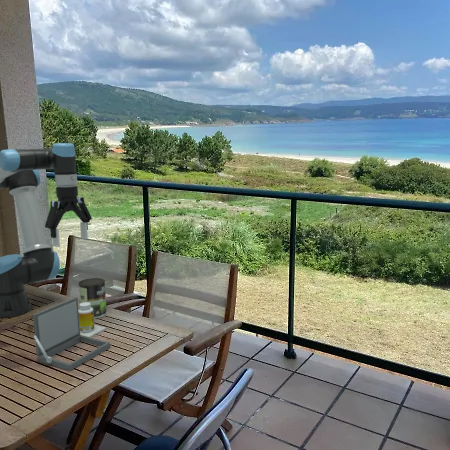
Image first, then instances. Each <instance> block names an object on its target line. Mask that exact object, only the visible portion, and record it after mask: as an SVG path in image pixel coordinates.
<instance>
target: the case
mask: <svg viewBox="0 0 450 450" xmlns="http://www.w3.org/2000/svg"><path fill="white" fill-rule="evenodd" d="M78 309H79V300H78V297H77V296H76V297H73V298H70V299H67V300H65V301H63V302H61V303H58V304H55V305H53V306H50V307H48V308H45V309H44V310H41V311H39V312H37V313H36V312H35V313H33V314H32V318H33V319H32V320H33V331H34V335H33V339H34V341H35V343H34V344H35V351H36V353H35V354H36V356H37V357H38V362H40V363H42V364H43V363H44V364H47V365H49V366H53V367H55V366H56V368H59V369H62V370H66V371H69V372H71V371H72V369H73V370H75V369H77V368H78V367H79V365H80V366H81V365H83V364H84V362H85V363H86V362H88V361H91V358H92V359H93V358H95V357H97V356H98V355H101V354H102V353H103V352H105V351H107V350H109V349H110V348H111V342H110V341H105V340H102V339H97V338H95V337H87V336H83V335H80V324H79V311H78ZM80 342H82V343H86V344H89V343H90V345H93V344H94V346H97V347H96V348H95V349H93V350H91V351H90V352H88V353H86V354H84V355H82V356H80V357H79V358H77V359H75V360H73V361H72V362H70V363H69V362H67V361H66V362H65V361H63V360H59V359H56V358H53V356H55V355H57V354H59V353H61V352H62V351H64V350H66V349H69V348H70V347H72V346H74V345H76V344H78V343H80ZM101 352H102V353H101ZM96 355H97V356H96ZM82 363H83V364H82ZM74 368H75V369H74Z"/></svg>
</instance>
